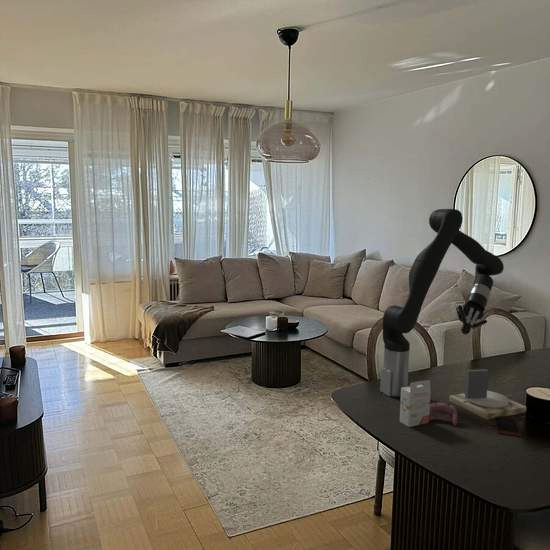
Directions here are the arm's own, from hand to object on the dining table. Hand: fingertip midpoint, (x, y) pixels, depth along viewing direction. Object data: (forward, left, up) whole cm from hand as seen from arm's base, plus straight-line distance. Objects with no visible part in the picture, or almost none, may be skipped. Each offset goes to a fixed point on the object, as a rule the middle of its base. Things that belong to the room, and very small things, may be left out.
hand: (464, 333), depth 195 cm
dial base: (-1, -15, -23) cm, 28 cm away
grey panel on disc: (-1, -15, -21) cm, 26 cm away
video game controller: (-26, -19, -24) cm, 40 cm away
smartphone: (-8, -30, -24) cm, 39 cm away
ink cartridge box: (-35, -16, -24) cm, 45 cm away
